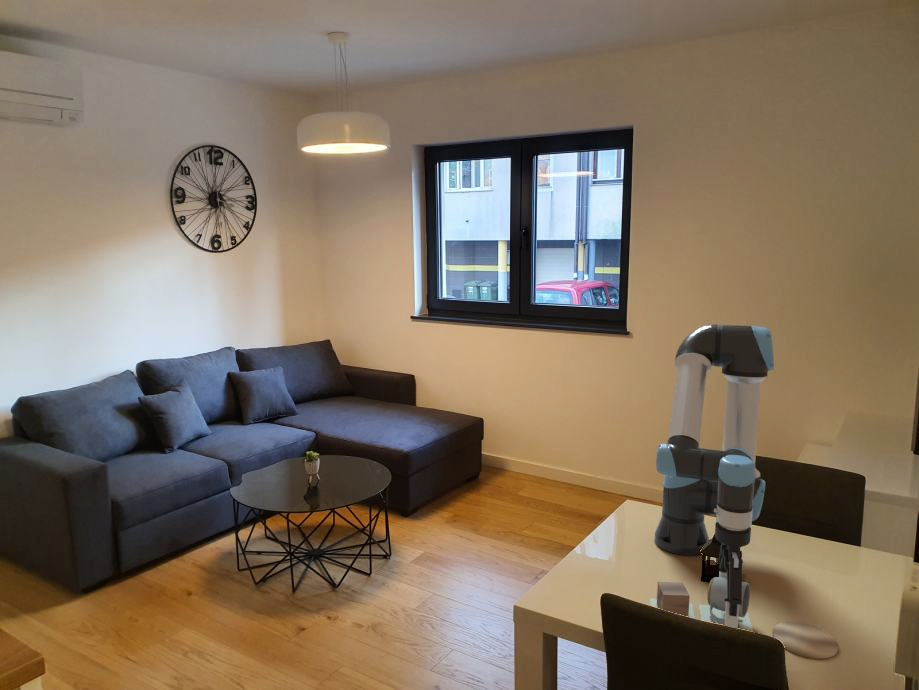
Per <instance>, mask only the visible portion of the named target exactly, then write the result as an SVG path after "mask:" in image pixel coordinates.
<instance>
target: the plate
mask: <svg viewBox="0 0 919 690" xmlns="http://www.w3.org/2000/svg"><path fill="white" fill-rule="evenodd" d="M649 605H651V606H654V607H657V608H658V606H657V598H651V597H650V598H649ZM688 617H692V618H695V619H696V617H695V613H694V607H693V603H692V602H689V615H688Z"/></svg>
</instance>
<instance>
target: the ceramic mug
mask: <svg viewBox="0 0 919 690" xmlns="http://www.w3.org/2000/svg"><path fill="white" fill-rule="evenodd" d="M750 589H751V588H750V584H749V583H748V582H745V581H742V604H741V605H739V617H745V615H746V613H747V612H748V611H749V610H748V609H749V606H750V600H751V599H750V598H751V597H750V596H751V590H750ZM727 597H728V596H727V579H726V578H722V577H719V576H718V577H717V576H714V577H713V578H711V580H710V581H709V584H708V590H707V603H708V605H710V614H711V617H712V618H713V619H714V620H715V621H717V622H719V623H722V624H725V619H721V618H718V617H717V616H715V615H714V614H713V613H712V609H713V608H715V609H718V610H721V611H724V612H725V609H726V601H724V598H727Z"/></svg>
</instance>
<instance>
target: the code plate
mask: <svg viewBox="0 0 919 690" xmlns="http://www.w3.org/2000/svg"><path fill="white" fill-rule="evenodd" d="M698 608H699V613H700V618H701V621H702V620H705V621H708V622H713V623H718V624H722V623H719V622H717V621H715V620H714V619H713V618H712V617H711V614H710V605H709V604H702V603H698ZM712 613H713V614H714V615H715V616H717V617H718V618H721V619H725V612H724V611H721V610H718V609H715V608H713V609H712ZM723 625H724V624H723ZM738 628H740V629H745V630H749V631H753V632H754V633H755V631H754V628H753V626H752V623H751V619H750V616H749V613H748V611H747V613H746V615H745V617H739V618H738Z"/></svg>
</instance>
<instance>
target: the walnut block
mask: <svg viewBox="0 0 919 690" xmlns="http://www.w3.org/2000/svg"><path fill="white" fill-rule="evenodd" d="M656 591H657V592H656V599H657V606H658V608H660V609H663V610H666V611H670V612H673V613H677V614H681V615H684V616H688V615H689V603H690V593H689V592H688V590H687V587H686V586H685V584H684V582H681V581H680V582H679V581H678V582H677V581H657V589H656Z"/></svg>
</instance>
